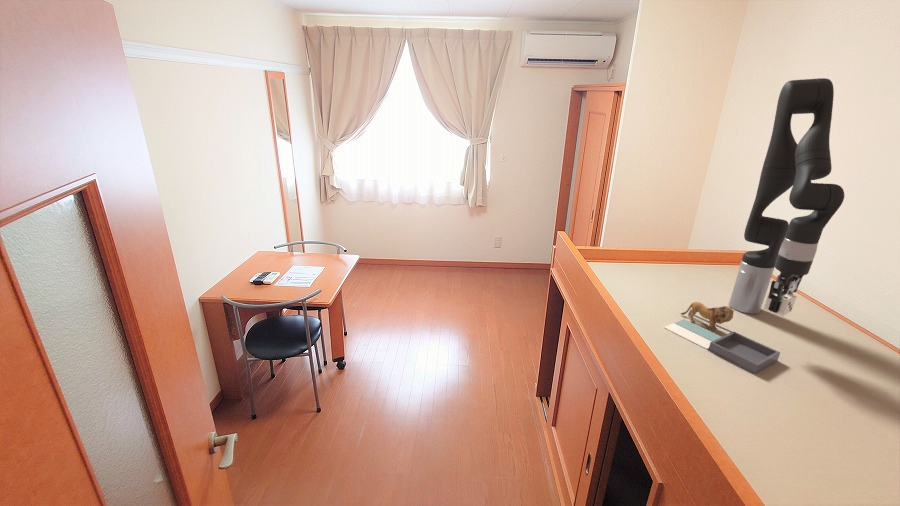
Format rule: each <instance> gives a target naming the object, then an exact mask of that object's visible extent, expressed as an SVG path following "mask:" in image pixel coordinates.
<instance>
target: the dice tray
mask: <svg viewBox="0 0 900 506" xmlns="http://www.w3.org/2000/svg"><path fill="white" fill-rule="evenodd" d="M707 351H709V352H710V353H713V354H714V355H716V356H718V357H720V358H722V359H724V360H727V361H728V362H729V363H732V364H734V365H736V366H738V367H740V368H742V369H744V370H746V371H748V372H750V373H752V374H754V375H756V374H757V373H759V372H762V371H763V370H764V369H766V368H767V367H770V366H771V365H773V364H774V363H776V362H777V361H778V360H779V357H780V354H781V352H780V351H778V350H776V349H773V348H771V347H769V346H767V345H765V344H763V343H761V342H758V341H755V340H754V339H752V338H749V337H747V336H744V335H743V334H740V333H738V332H736V331H732V332H729V333H727V334H724V335H723V336H721V338H719V339H716V340H714V341H712V342H710V346H709V349H707Z"/></svg>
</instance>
